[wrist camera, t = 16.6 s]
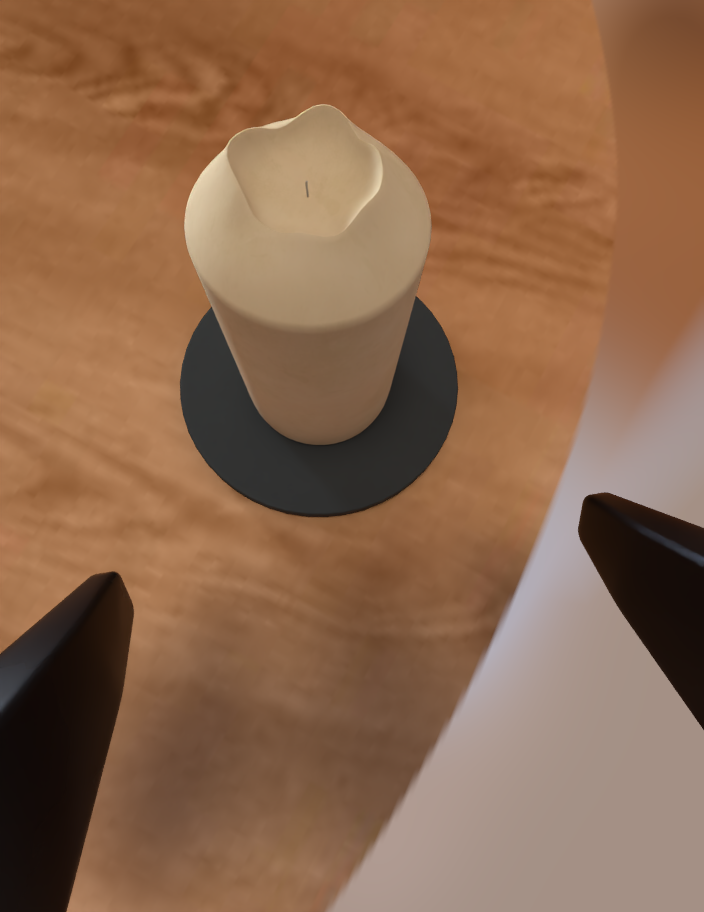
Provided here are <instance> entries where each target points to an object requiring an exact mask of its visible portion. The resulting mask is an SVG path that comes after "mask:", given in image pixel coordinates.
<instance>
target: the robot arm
mask: <svg viewBox="0 0 704 912" xmlns="http://www.w3.org/2000/svg"><path fill="white" fill-rule="evenodd" d="M578 533H579V537H580V540H581V542H582V544H583V546H584V547H585V549H586V551H587V553H588V555H589V556H590V558H591V560H592V562H593V564H594V566H595V567H596V569H597V571H598V573H599V574H600V576H601V578H602V580H603V582H604V583H605V585H606V587H607V589H608V591H609V593H610V594H611V596H612V598H613V599H614V601H615V603H616V604H617V606H618V607H619V609H620V611H621V612H622V614H623V615H624V617H625V618H626V619H627V621H628V622H629V624H630V625H631V627H632V628H633V629H634V631H635V632H636V634H637V635H638V636H639V638H640V639H641V641H642V642H643V644H644V645H645V646H646V648H647V649H648V651H649V652H650V654H651V655H652V657H653V658H654V659H655V661H656V662H657V664H658V665H659V667H660V668H661V670H662V671H663V672H664V674H665V675H666V677H667V678H668V680H669V681H670V682H671V684H672V685H673V687H674V688H675V690H676V691H677V692H678V694H679V695H680V697H681V698H682V700H683V701H684V702H685V704H686V705H687V707H688V708H689V710H690V711H691V712H692V714H693V715H694V717H695V718H696V720H697V721H698V722H699V724H700V725H701V727H702V728H703V730H704V528H702V527H699V526H697V525H694V524H691V523H688V522H686V521H683V520H681V519H678V518H675V517H672V516H670V515H667V514H664V513H662V512H659V511H656V510H653V509H651V508H648V507H645V506H643V505H640V504H637V503H634V502H632V501H629V500H627V499H624V498H621V497H619V496H616V495H613V494H610V493H598V494H592V495H588V496H586V497H585V499H584V501H583V504H582V510H581V516H580V521H579V526H578ZM133 617H134V609H133V604H132V601H131V599H130V596H129V594H128V592H127V589H126V587H125V585H124V583H123V580H122V578H121V576H120V575H119V574H118V573H117V572H106V573H100V574H95V575H92V576H91V577H90V578H88V579H87V580H86V581H85V582H84V583H82V584H81V585H80V586H79V587H78V588H77V589H75V590H74V591H73V592H72V593H71V594H70V595H68V596H67V597H66V598H65V599H64V600H63V601H61V602H60V603H59V604H58V605H57V606H56V607H54V608H53V609H52V610H51V611H50V612H49V613H47V614H46V615H45V616H44V617H43V618H42V619H40V620H39V621H38V622H37V623H36V624H35V625H33V626H32V627H31V628H30V629H29V630H28V631H26V632H25V633H24V634H23V635H22V636H21V637H19V638H18V639H17V640H16V641H15V642H14V643H12V644H11V645H10V646H9V647H8V648H7V649H5V650H4V651H3V652H2V653H1V654H0V912H66V911H67V907H68V904H69V900H70V896H71V892H72V888H73V884H74V880H75V877H76V873H77V869H78V865H79V861H80V857H81V853H82V850H83V846H84V842H85V838H86V834H87V830H88V826H89V822H90V819H91V815H92V811H93V807H94V803H95V799H96V795H97V792H98V788H99V784H100V780H101V776H102V772H103V768H104V765H105V761H106V757H107V753H108V749H109V745H110V741H111V737H112V734H113V730H114V726H115V722H116V718H117V714H118V710H119V706H120V702H121V698H122V693H123V687H124V681H125V674H126V666H127V659H128V652H129V645H130V638H131V631H132V624H133Z"/></svg>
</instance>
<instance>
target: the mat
mask: <svg viewBox="0 0 704 912" xmlns="http://www.w3.org/2000/svg"><path fill="white" fill-rule="evenodd" d="M457 393H458V383H457V370H456V365H455V360H454V356H453V353H452V350H451V347H450V344H449V341H448V339H447V337H446V335H445V333H444V331H443V329H442V327H441V326H440V324H439V323H438V321H437V320H436V318H435V317H434V315H433V314H432V312H431V311H430V310H429V309H428V308H427V307H426V306H425V305H424V303H423V302H422V301H421V300H420V299H419V298H417V297H415V301H414V304H413V308H412V311H411V315H410V319H409V322H408V326H407V330H406V333H405V337H404V341H403V344H402V348H401V351H400V355H399V359H398V362H397V366H396V370H395V373H394V377H393V380H392V384H391V388H390V391H389V394H388V397H387V400H386V402H385V405H384V407H383V408H382V410H381V412H380V413H379V415H378V416H377V417H376V419H375V420H374V421H373V422H372V423H371V424H370V425H369V426H368V427H367V428H366V429H365V430H363V431H362V432H361V433H359V434H358V435H356V436H354V437H352V438H350V439H348V440H345V441H342V442H339V443H335V444H328V445H311V444H305V443H301V442H297V441H294V440H292V439H289V438H287V437H285V436H284V435H282V434H280V433H279V432H277V431H276V430H275V429H273V428H272V427H271V426H270V425H269V424H268V423H267V422H266V421H265V420H264V419H263V417H262V416H261V415H260V414H259V412H258V410H257V409H256V407H255V405H254V403H253V401H252V399H251V397H250V394H249V392H248V390H247V387H246V385H245V383H244V380H243V378H242V376H241V374H240V371H239V369H238V367H237V364H236V362H235V360H234V357H233V355H232V353H231V350H230V348H229V346H228V343H227V341H226V339H225V336H224V334H223V332H222V329H221V327H220V325H219V322H218V320H217V318H216V316H215V313H214V311H213V309H212V307H211V308H210V309H209V310H208V312H207V313H206V314H205V316H204V317H203V318H202V319H201V321H200V323H199V324H198V326H197V328H196V329H195V331H194V333H193V335H192V337H191V340H190V342H189V344H188V347H187V349H186V353H185V357H184V360H183V364H182V371H181V379H180V396H181V404H182V410H183V416H184V419H185V422H186V425H187V428H188V431H189V434H190V436H191V438H192V440H193V442H194V444H195V446H196V448H197V449H198V451H199V452H200V454H201V455H202V457H203V458H204V460H205V461H206V463H207V464H208V465H209V466H210V467H211V468H212V469H213V470H214V471H215V472H216V473H217V475H218V476H219V477H220V478H221V479H222V480H223V481H225V482H226V483H227V484H228V485H230V486H231V487H232V488H233V489H235V490H236V491H237V492H239V493H240V494H242V495H244V496H245V497H247V498H249V499H250V500H252V501H254V502H256V503H258V504H261V505H263V506H265V507H268V508H270V509H274V510H277V511H280V512H284V513H287V514H294V515H300V516H309V517H329V516H337V515H346V514H350V513H354V512H358V511H362V510H365V509H367V508H370V507H373V506H375V505H378V504H380V503H382V502H384V501H386V500H388V499H389V498H391V497H393V496H395V495H397V494H398V493H399V492H401V491H402V490H403V489H405V488H406V487H407V486H409V485H410V484H411V483H413V482H414V481H415V480H416V479H417V478H418V477H419V476H420V475H421V474H422V473H423V472H424V471H425V469H426V468H427V467H428V465H429V464H430V463H431V462H432V460H433V459H434V458H435V456H436V455H437V454H438V452H439V450H440V448H441V447H442V445H443V443H444V441H445V440H446V438H447V435H448V432H449V430H450V427H451V425H452V422H453V418H454V414H455V409H456V404H457Z"/></svg>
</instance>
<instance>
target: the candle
mask: <svg viewBox="0 0 704 912" xmlns="http://www.w3.org/2000/svg"><path fill="white" fill-rule="evenodd" d="M184 228H185V239H186V244H187V248H188V252H189V254H190V257H191V259H192V262H193V264H194V267H195V269H196V271H197V274H198V276H199V278H200V281H201V283H202V285H203V288H204V290H205V292H206V295H207V297H208V299H209V302H210V304H211V306H212V309H213V311H214V313H215V316H216V318H217V320H218V322H219V325H220V327H221V329H222V332H223V334H224V336H225V339H226V341H227V343H228V346H229V348H230V350H231V353H232V355H233V357H234V360H235V362H236V364H237V367H238V369H239V371H240V374H241V376H242V378H243V380H244V383H245V385H246V387H247V390H248V392H249V394H250V397H251V399H252V401H253V403H254V405H255V407H256V409H257V410H258V412H259V414H260V415H261V416H262V417H263V419H264V420H265V421H266V422H267V423H268V424H269V425H270V426H271V427H272V428H273V429H275V430H276V431H277V432H279V433H280V434H282V435H284V436H285V437H287V438H289V439H292V440H294V441H297V442H301V443H305V444H311V445H328V444H335V443H339V442H342V441H345V440H348V439H350V438H352V437H354V436H356V435H358V434H359V433H361V432H362V431H363V430H365V429H366V428H367V427H368V426H369V425H370V424H371V423H372V422H373V421H374V420H375V419H376V417H377V416H378V415H379V413H380V412H381V410H382V408H383V407H384V405H385V402H386V400H387V397H388V394H389V391H390V388H391V384H392V380H393V377H394V373H395V370H396V366H397V362H398V359H399V355H400V351H401V348H402V344H403V341H404V337H405V333H406V330H407V326H408V322H409V319H410V315H411V311H412V308H413V304H414V301H415V297H416V293H417V290H418V286H419V282H420V279H421V275H422V271H423V268H424V264H425V260H426V257H427V253H428V249H429V245H430V240H431V229H432V225H431V213H430V209H429V205H428V201H427V198H426V196H425V193H424V191H423V188H422V187H421V185H420V183H419V181H418V180H417V178H416V176H415V175H414V174H413V173H412V171H411V170H410V169H409V167H408V166H407V165H406V164H405V163H404V162H403V161H402V160H401V159H400V158H399V157H398V156H397V155H396V154H394V153H393V152H392V151H391V150H390V149H388V148H387V147H386V146H384V145H383V144H382V143H381V142H379V141H378V140H376V139H375V138H373V137H372V136H370V135H369V134H368V133H366V132H365V131H363V130H362V129H360V128H359V127H357V126H356V125H355V124H353V123H352V122H351V121H350V120H349V119H348V118H347V117H346V116H345V115H344V114H343V113H342V112H341V111H340V110H339V109H337V108H335V107H333V106H331V105H325V104H321V105H316V106H313V107H311V108H309V109H307V110H306V111H304V112H302V113H301V114H300V115H298V116H297V117H295V118H292V119H288V120H284V121H279V122H275V123H272V124H268V125H265V126H262V127H252V128H249V129H245V130H243V131H241V132H239V133H237V134H236V135H235V136H234V137H233V138H232V139H230V141H229V142H228V144H227V146H226V148H225V149H224V150H223V151H222V152H221V153H220V154H219V155H217V156H216V157H215V158H214V159H213V160H212V162H211V163H210V164H209V165H208V166H207V167H206V169H205V170H204V171H203V172H202V173H201V175H200V177H199V178H198V180H197V182H196V183H195V185H194V187H193V189H192V192H191V194H190V196H189V199H188V203H187V207H186V211H185V222H184Z"/></svg>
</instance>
